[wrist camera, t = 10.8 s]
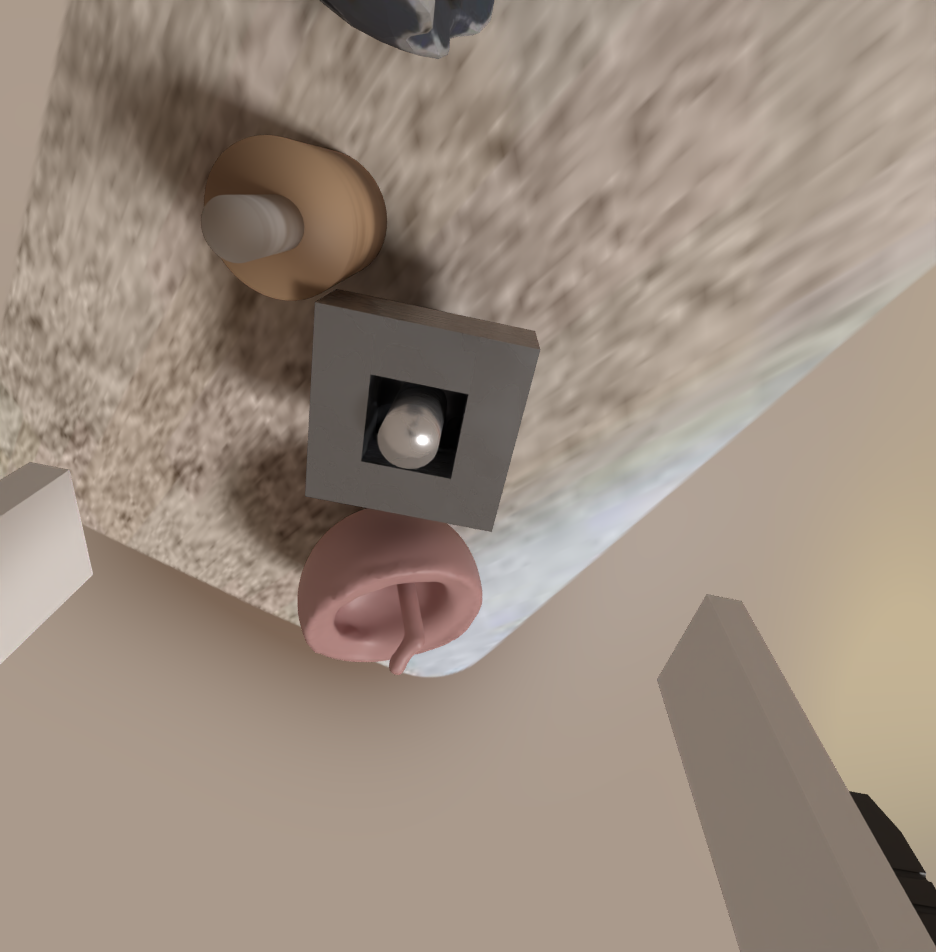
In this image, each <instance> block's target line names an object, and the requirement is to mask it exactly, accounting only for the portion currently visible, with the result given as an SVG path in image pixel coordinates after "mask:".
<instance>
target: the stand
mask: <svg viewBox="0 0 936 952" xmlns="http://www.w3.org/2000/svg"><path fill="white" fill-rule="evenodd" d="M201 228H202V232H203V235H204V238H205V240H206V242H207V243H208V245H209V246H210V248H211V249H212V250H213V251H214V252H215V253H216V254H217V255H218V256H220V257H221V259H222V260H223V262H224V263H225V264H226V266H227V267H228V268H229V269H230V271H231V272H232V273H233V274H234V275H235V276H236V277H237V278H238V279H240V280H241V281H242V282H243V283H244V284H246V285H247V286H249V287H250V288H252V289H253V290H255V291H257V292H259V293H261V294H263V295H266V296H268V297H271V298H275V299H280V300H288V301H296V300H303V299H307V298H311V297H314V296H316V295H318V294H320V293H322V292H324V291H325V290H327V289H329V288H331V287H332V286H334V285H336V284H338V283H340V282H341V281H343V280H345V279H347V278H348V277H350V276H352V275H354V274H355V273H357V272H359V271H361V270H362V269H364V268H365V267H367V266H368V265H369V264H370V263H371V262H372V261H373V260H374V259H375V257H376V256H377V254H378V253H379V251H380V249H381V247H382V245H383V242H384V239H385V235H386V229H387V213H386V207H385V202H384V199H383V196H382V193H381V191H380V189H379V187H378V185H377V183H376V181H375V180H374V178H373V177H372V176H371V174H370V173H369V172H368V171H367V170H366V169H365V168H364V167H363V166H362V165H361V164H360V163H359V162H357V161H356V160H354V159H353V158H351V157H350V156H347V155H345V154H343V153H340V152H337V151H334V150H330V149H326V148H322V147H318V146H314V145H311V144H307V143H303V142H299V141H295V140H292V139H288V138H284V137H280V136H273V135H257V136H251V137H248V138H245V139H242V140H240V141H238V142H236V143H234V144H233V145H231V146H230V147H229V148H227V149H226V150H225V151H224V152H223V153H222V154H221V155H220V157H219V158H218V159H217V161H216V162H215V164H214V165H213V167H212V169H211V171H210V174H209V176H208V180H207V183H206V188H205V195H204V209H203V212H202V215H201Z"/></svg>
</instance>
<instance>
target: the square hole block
mask: <svg viewBox="0 0 936 952" xmlns="http://www.w3.org/2000/svg"><path fill="white" fill-rule="evenodd" d="M539 352H540V347H539V343H538V340H537V336H536V333H535V331H532V330H527V329H523V328H518V327H513V326H509V325H504V324H499V323H494V322H490V321H485V320H480V319H476V318H471V317H466V316H461V315H457V314H452V313H447V312H443V311H438V310H433V309H428V308H424V307H419V306H414V305H410V304H405V303H400V302H395V301H391V300H386V299H381V298H377V297H372V296H367V295H362V294H358V293H353V292H348V291H344V290H339V289H336V290H335V291H333V292H331V293H330V294H328V295H326V296H325V297H323V298H321V299H320V300H318V301H316V302H315V313H314V333H313V352H312V372H311V391H310V411H309V431H308V450H307V470H306V490H305V496H307V497H312V498H317V499H322V500H328V501H333V502H338V503H343V504H348V505H354V506H359V507H364V508H369V509H375V510H380V511H385V512H390V513H396V514H401V515H406V516H411V517H417V518H422V519H427V520H432V521H438V522H443V523H448V524H453V525H459V526H464V527H469V528H474V529H480V530H485V531H490V532H492V529H493V525H494V521H495V517H496V514H497V510H498V506H499V502H500V499H501V495H502V491H503V487H504V484H505V480H506V476H507V472H508V469H509V465H510V461H511V457H512V454H513V450H514V446H515V442H516V439H517V435H518V431H519V427H520V424H521V420H522V416H523V412H524V409H525V405H526V401H527V397H528V394H529V390H530V386H531V382H532V379H533V375H534V371H535V367H536V364H537V360H538V356H539ZM382 377H386V378H391V379H396V380H401V381H406V382H411V383H416V384H420V385H425V386H430V387H435V388H440V389H445V390H450V391H455V392H460V393H464V394H467V397H466V402H465V406H464V411H463V416H462V421H461V426H460V431H459V435H458V440H457V445H456V449H453V448H448V447H443V446H438V450H437V453H436V455H435V457H434V458H433V459H432V460H431V461H430V462H429V463H428V464H426V465H425V466H423V467H420V468H416V469H406V468H401V467H398V466H396V465H394V464H392V463H391V462H389V461H388V460H387V459H386V458H385V457H384V456H383V454H382V453H381V451H380V449H379V446H378V434H377V433H375V431H376V423H377V415H378V406H379V398H380V390H381V381H382Z"/></svg>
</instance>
